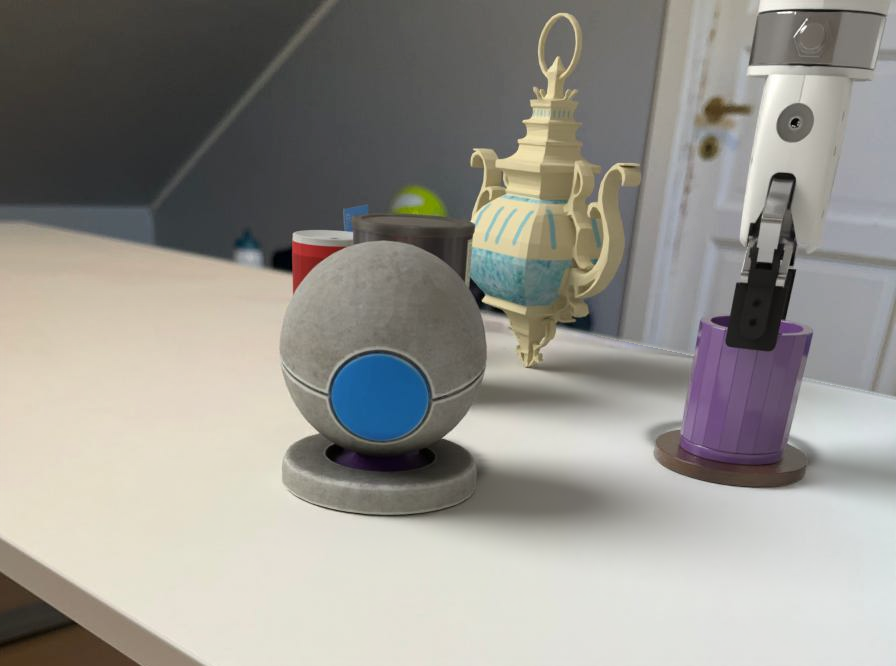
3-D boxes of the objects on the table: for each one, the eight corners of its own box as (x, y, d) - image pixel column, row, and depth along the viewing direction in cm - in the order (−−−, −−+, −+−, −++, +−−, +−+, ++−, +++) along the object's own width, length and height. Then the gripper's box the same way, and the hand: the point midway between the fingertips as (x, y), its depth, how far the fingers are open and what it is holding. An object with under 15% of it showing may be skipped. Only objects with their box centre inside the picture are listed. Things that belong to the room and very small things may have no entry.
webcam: (471, 456, 71) (488, 235, 64) (481, 520, 60) (504, 261, 53) (293, 448, 71) (290, 225, 64) (270, 511, 59) (263, 249, 52)
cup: (787, 443, 74) (815, 321, 70) (780, 471, 68) (811, 340, 64) (686, 428, 77) (708, 310, 72) (671, 454, 70) (694, 326, 66)
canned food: (341, 361, 96) (342, 241, 91) (277, 348, 99) (275, 232, 94) (383, 349, 102) (387, 235, 96) (322, 337, 105) (322, 228, 100)
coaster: (808, 454, 76) (811, 441, 75) (801, 497, 66) (805, 483, 66) (666, 432, 79) (668, 420, 78) (641, 471, 70) (643, 457, 69)
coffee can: (434, 410, 81) (444, 229, 75) (327, 391, 85) (328, 217, 78) (481, 385, 90) (494, 220, 83) (382, 369, 93) (387, 210, 87)
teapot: (651, 390, 91) (712, 11, 77) (552, 401, 86) (598, -3, 72) (508, 339, 109) (536, 24, 95) (419, 345, 104) (434, 13, 90)
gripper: (881, 43, 52) (806, 367, 60) (876, 62, 66) (816, 321, 74) (736, 40, 54) (683, 352, 62) (762, 58, 68) (716, 311, 77)
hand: (755, 335), depth 68 cm, fingers open, 9 cm apart
